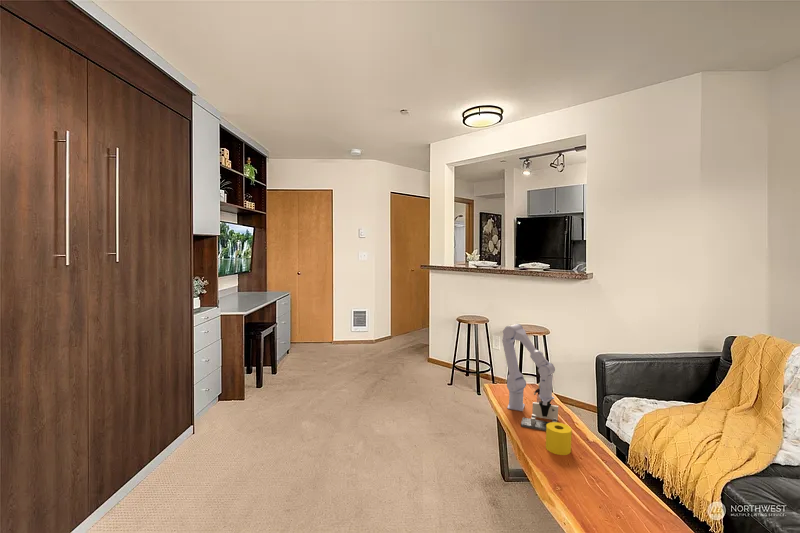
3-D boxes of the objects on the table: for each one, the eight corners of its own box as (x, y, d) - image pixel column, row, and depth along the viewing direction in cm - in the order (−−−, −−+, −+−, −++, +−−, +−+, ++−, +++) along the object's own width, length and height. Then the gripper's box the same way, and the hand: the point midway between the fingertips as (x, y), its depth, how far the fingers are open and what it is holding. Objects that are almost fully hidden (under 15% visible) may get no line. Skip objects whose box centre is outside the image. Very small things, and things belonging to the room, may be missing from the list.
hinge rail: (522, 419, 199) (522, 411, 198) (566, 427, 191) (566, 418, 191) (520, 426, 191) (521, 417, 191) (566, 434, 184) (566, 425, 183)
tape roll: (550, 454, 166) (550, 432, 166) (542, 442, 176) (543, 421, 176) (574, 455, 166) (575, 433, 165) (565, 443, 176) (566, 422, 175)
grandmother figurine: (532, 405, 216) (533, 382, 215) (533, 403, 219) (534, 380, 219) (548, 408, 213) (549, 384, 212) (548, 405, 217) (549, 382, 216)
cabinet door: (532, 415, 204) (533, 401, 204) (557, 419, 200) (558, 405, 199) (532, 417, 202) (532, 403, 202) (557, 421, 197) (558, 407, 197)
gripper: (554, 393, 192) (553, 421, 193) (555, 384, 205) (554, 409, 206) (538, 391, 195) (537, 418, 196) (540, 382, 208) (539, 407, 209)
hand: (545, 414), depth 201 cm, fingers open, 5 cm apart
